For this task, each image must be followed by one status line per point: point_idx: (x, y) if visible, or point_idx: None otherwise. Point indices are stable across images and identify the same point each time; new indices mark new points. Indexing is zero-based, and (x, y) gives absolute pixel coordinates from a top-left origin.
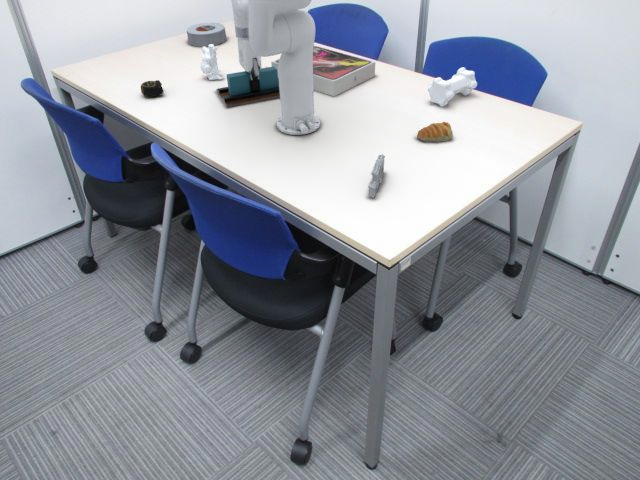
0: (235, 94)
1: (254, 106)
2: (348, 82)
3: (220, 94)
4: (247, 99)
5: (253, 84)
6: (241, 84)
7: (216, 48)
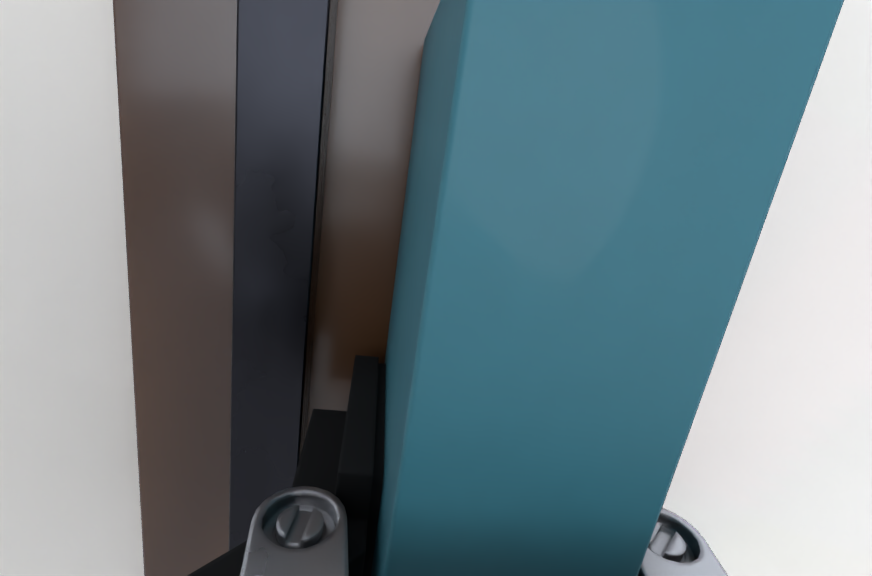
0: (415, 117)
1: (22, 237)
2: None
3: None
4: (207, 225)
5: (300, 462)
6: (403, 276)
7: None
